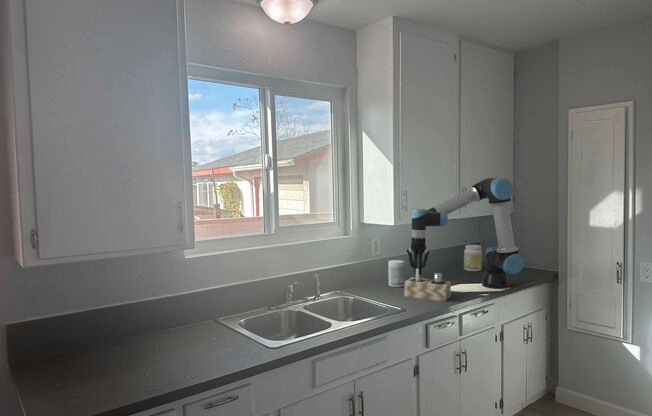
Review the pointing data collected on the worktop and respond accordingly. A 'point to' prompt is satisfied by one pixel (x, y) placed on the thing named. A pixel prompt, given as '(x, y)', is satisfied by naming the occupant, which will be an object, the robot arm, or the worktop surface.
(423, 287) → the block
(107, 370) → the worktop surface
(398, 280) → the supplement tub
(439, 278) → the inner peg
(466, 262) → the supplement tub
